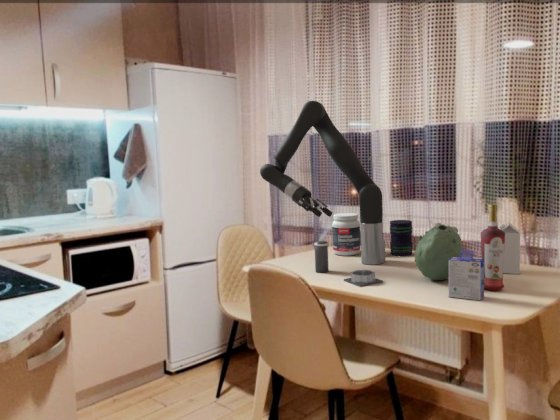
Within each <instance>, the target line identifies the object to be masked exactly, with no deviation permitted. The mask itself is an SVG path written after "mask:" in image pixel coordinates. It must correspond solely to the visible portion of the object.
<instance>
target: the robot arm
mask: <svg viewBox="0 0 560 420" xmlns="http://www.w3.org/2000/svg"><path fill="white" fill-rule="evenodd" d="M312 127H313V129H315V131H316V132H317V133H318V135H319V137H320V138H321V140H322V142H323V144H324V147H325V149H326V151H327V153H328V154H329V156H330V157H331V160H332V161H333V162H334V163H335V165H336V166H337V167H338V169H339V170H340V171H341V172H342V173H343V174H344V175H345V177H347V178H348V180H349V181H350V182H351V184H352V185H353V188H355V191H356V193H357V194H358V196H359V197H358V198H359V222H360V250H361V251H360V254H361V257H360V258H361V260H360V261H361V264H363V265H372V266H373V265H381V264H383V263H386V240H385V239H384V229H383V228H384V227H383V225H384V224H383V220H384V219H383V215H384V213H383V193H382V190H381V188H380V187H379V186H378V185H377V184H376V183H375V182H374V181H373V180H372V178H371V176H370V175H369V174H368V173H367V172H366V169H365V168H364V167H363V165H362V163H361V161H360V159H359V158H358V157H359V156H358V155H357V154H356V152H355V151H354V149H353V148H352V146H351V144H350V143H349V142H348V140H347V138H345V137H344V136H343V134H342V132H341V131H339V130H338V129H337V127H336V126H335V124H334V123H333V121H332V119H331V117H330V116H329V114H328V113H327V111H326V108H325V106H324V105H323V104H322V103H321V102H319V101H316V100H310V101H307V102H306V103H304V105H302V108H301V111H300V113H299V115H298V117H297V118H296V121H295V122H294V125H293V126H292V128H291V130H290V131H289V133H288V134H287V136H286V137H285V138H284V139H283V141H282V143H281V144H280V145H279V147H278V148H277V150H276V151H275V152H274V154H273V158H274V160H275V161H274V163H273V164H272V163H271V164H270V163H265V164H264V165H262V166H261V167H260V170H259V173H260V176H261V178H262V179H263V180H264V181H266V182H267V183H269V184H270V185H272V186H274V187H276V188H277V189H278V190H279V191H281V192H282V194H284V195H286V196H287V198H288V199H290V200H291V201H293V202H294V203H295V204H296V205H297V206H299V207H302V208H303V209H304V210H305V211H306V212H309V213H312V214H314V215H315V216H316V217H318V218H320V217H321V216H322V214H323V213H324V214H325V215H326V216H328V217H330V218H331V216H332V215H333V211H331V210H330V209H328V205H327V204H325V203H324V202H323V201H322V200H320V199H318V198H314V197H312V194H313V193H312V191H311V190H309V189H307V188H306V187H305V186H304V185H303V184H301V183H300V182H298V181H296V180H295V179H293V178H292V177H291V176H290V175H288V174H285V172H286V169H287V167H288V163H289V162H290V161H291V159H292V158H293V157H294V155H295V154H296V152H297V150H298V149H299V147H300V145H301V143H302V142H303V140H304V138H305V136H306V135H307V133H308V132H309V131H310V130H311V128H312Z"/></svg>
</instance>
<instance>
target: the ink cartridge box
mask: <svg viewBox="0 0 560 420" xmlns="http://www.w3.org/2000/svg"><path fill="white" fill-rule="evenodd" d="M465 254H469V255H465ZM473 255H474V252H473V250H463V251H462V250H461V255H460V258H459V257H452V258H451V259H450V260H449V278H448V298H457V299H466V300H475V301H482V300H483V298H484V297H485V288H484V259H482V258H479V257H478V258H475V257H474V256H473Z"/></svg>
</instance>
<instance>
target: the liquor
mask: <svg viewBox="0 0 560 420" xmlns="http://www.w3.org/2000/svg"><path fill="white" fill-rule="evenodd" d="M487 206H488V207H487V209H488V210H487V211H488V222H487V223H488V224H487V228H486V229H485V228H484V229H482V230H481V232H480V248H481V250H480V251H481V259H484V290H487V291H488V292H489V291H490V292H499V291H501V290H502V289H503V288H504V287H505V285H504V283H503V282H504V273H503V262H504V248H505V232H504V231H502V230H501V229H500V228H499V227H498V215H497V214H498V203H497V204H496V203H495V204H494V203H490V204H489V203H488V205H487Z"/></svg>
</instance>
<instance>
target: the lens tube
mask: <svg viewBox="0 0 560 420" xmlns="http://www.w3.org/2000/svg"><path fill="white" fill-rule="evenodd" d="M313 245H314V263H315V273H317V274H325V273H328V272H329V248H328V247H329V243H328V241H327V240H317V241H314V243H313Z"/></svg>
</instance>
